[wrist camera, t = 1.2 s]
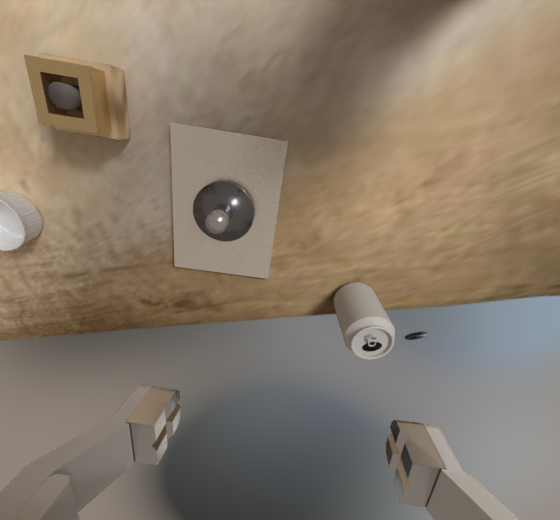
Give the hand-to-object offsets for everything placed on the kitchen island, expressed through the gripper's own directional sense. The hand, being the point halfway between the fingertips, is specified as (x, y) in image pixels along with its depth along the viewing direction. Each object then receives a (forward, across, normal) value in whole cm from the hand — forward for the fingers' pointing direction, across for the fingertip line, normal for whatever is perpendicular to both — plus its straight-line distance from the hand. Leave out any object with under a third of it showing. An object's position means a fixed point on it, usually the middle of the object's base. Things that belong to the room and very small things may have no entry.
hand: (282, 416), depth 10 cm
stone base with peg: (+33, +12, -3) cm, 35 cm away
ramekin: (+31, +45, +1) cm, 55 cm away
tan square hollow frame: (+27, +28, -16) cm, 42 cm away
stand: (+30, +29, -16) cm, 44 cm away
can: (+38, -11, +12) cm, 41 cm away
